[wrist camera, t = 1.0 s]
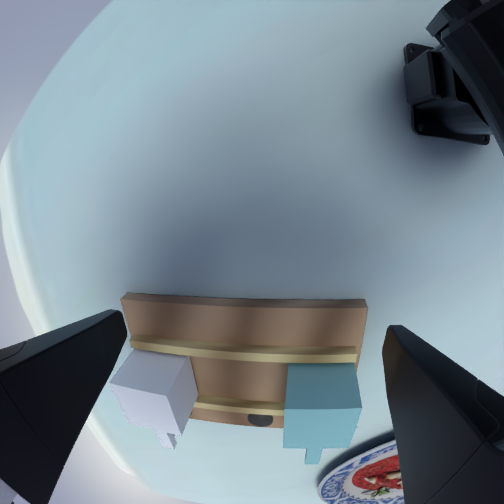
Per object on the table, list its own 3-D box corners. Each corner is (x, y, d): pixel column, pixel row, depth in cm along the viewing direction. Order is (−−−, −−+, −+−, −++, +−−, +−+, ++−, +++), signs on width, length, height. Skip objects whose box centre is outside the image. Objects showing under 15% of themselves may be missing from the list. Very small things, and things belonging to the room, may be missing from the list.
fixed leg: (188, 353, 23) (166, 395, 18) (205, 420, 26) (191, 459, 21) (136, 346, 23) (108, 382, 19) (160, 412, 26) (142, 447, 22)
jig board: (364, 299, 20) (370, 315, 18) (342, 419, 25) (343, 435, 23) (127, 292, 23) (114, 304, 21) (162, 404, 28) (154, 418, 26)
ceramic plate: (446, 380, 22) (455, 400, 19) (505, 434, 25) (511, 447, 22) (279, 478, 31) (277, 495, 29) (382, 506, 34) (383, 518, 31)
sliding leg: (353, 359, 21) (362, 407, 16) (338, 427, 24) (340, 469, 19) (288, 360, 21) (284, 409, 17) (286, 427, 24) (281, 470, 20)
